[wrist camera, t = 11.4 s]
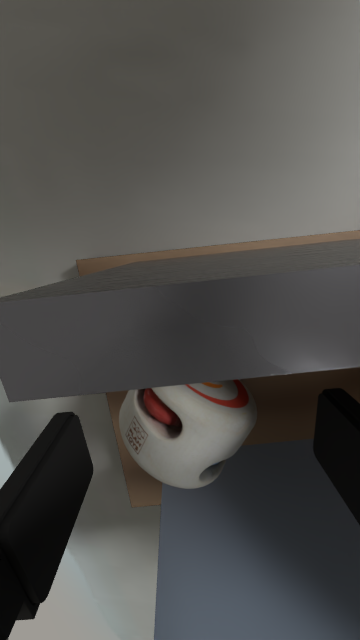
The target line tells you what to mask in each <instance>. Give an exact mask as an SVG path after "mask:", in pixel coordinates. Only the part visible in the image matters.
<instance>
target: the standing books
mask: <svg viewBox="0 0 360 640" xmlns="http://www.w3.org/2000/svg"><path fill="white" fill-rule="evenodd" d="M313 442H314V439H305V440H295V441H285V442H274V443H264V444H254V445H244V446H240V448H239V449H238V450H237V452H236V453H235V454H234V455H233V456H231V457H230V458H228V459H226V462H225V464H224V467H223V469H222V471H221V473H220V475H219V476H218V477H217V478H216V479H215V480H214V481H213V482H212V483H210V484H208V485H206V486H203V487H199V488H194V489H184V488H178V487H174V486H170V485H168V484H165V483H163V482H162V499H161V517H160V536H159V555H158V573H157V592H156V611H155V629H154V640H360V525H359V524H358V522H357V520H356V519H355V517H354V516H353V514H352V513H351V511H350V510H349V508H348V507H347V505H346V504H345V502H344V500H343V499H342V497H341V496H340V494H339V493H338V491H337V490H336V488H335V487H334V485H333V483H332V482H331V480H330V479H329V477H328V476H327V474H326V473H325V471H324V470H323V468H322V467H321V465H320V463H319V462H318V460H317V459H316V457H315V455H314V452H313Z"/></svg>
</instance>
